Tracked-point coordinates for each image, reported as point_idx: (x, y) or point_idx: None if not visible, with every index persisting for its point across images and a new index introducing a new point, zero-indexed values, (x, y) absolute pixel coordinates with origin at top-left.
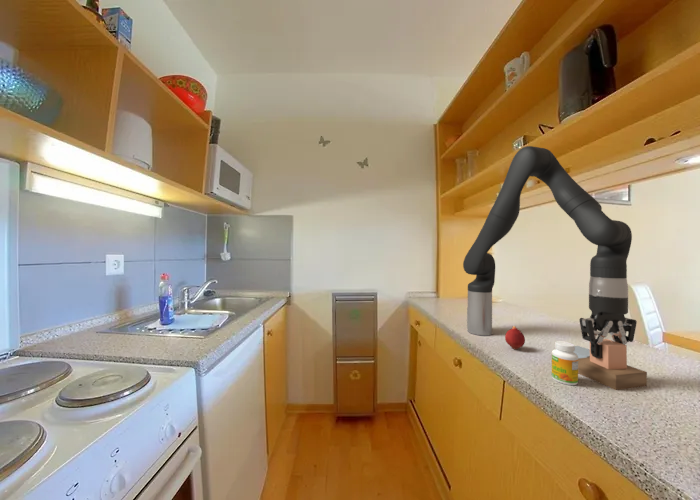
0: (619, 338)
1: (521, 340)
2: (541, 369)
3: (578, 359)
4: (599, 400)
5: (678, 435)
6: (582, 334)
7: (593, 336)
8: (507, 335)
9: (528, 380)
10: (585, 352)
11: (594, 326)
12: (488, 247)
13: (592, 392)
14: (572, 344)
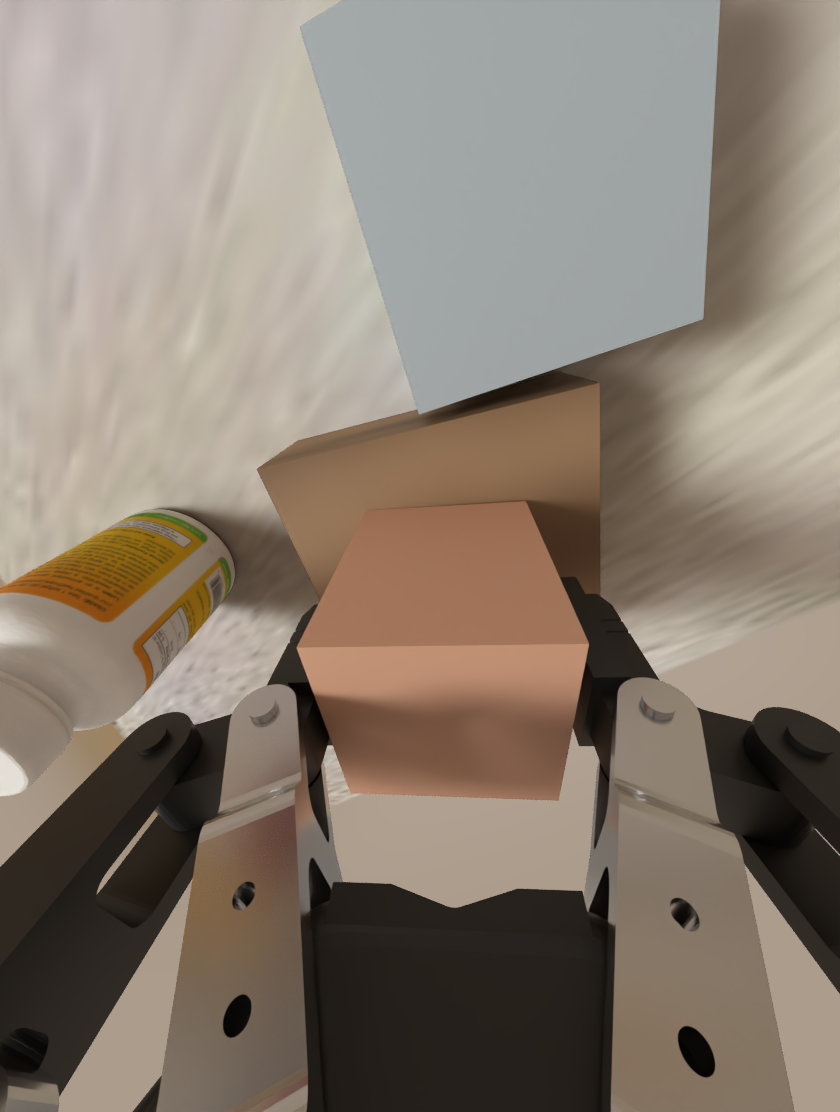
0: (595, 818)
1: None
2: (88, 415)
3: (290, 482)
4: (247, 685)
5: (339, 786)
6: (84, 792)
7: (182, 865)
8: None
9: (4, 560)
10: (511, 267)
11: (210, 1010)
12: None
13: (256, 644)
14: (13, 772)
